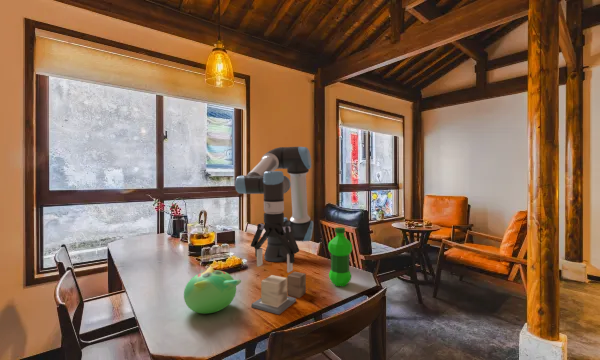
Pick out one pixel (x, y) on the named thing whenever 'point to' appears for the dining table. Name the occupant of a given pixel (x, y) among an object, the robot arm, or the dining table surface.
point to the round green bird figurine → (210, 291)
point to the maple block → (274, 290)
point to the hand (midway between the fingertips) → (274, 268)
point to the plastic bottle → (340, 258)
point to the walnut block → (296, 284)
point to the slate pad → (272, 308)
